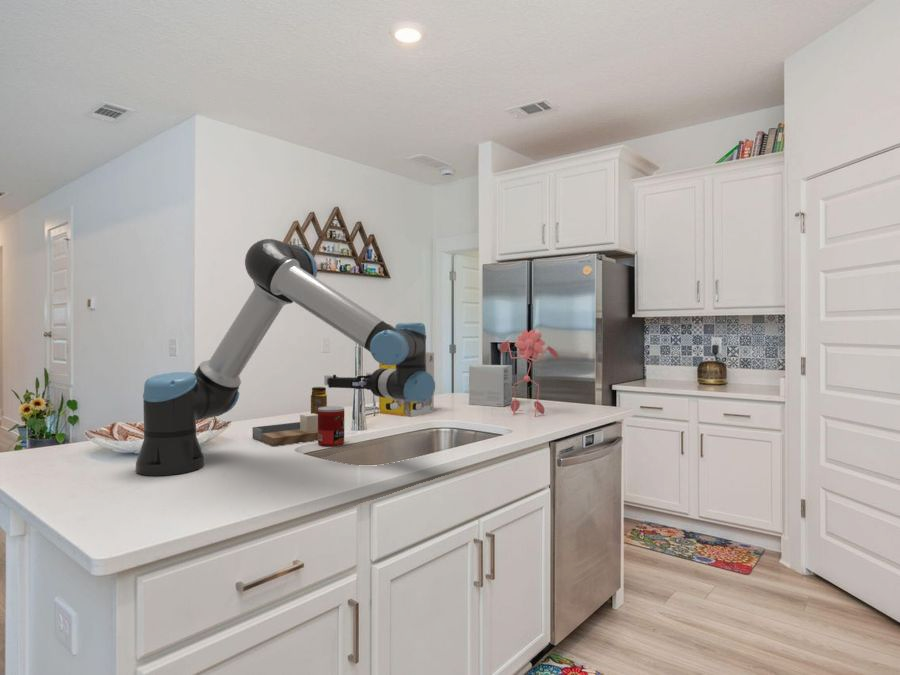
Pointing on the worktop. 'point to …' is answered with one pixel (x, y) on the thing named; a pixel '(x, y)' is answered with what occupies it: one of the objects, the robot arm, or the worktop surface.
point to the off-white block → (309, 422)
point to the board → (288, 437)
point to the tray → (274, 429)
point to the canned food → (331, 426)
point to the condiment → (318, 399)
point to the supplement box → (490, 385)
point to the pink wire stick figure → (528, 347)
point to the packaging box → (405, 406)
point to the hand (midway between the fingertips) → (346, 378)
